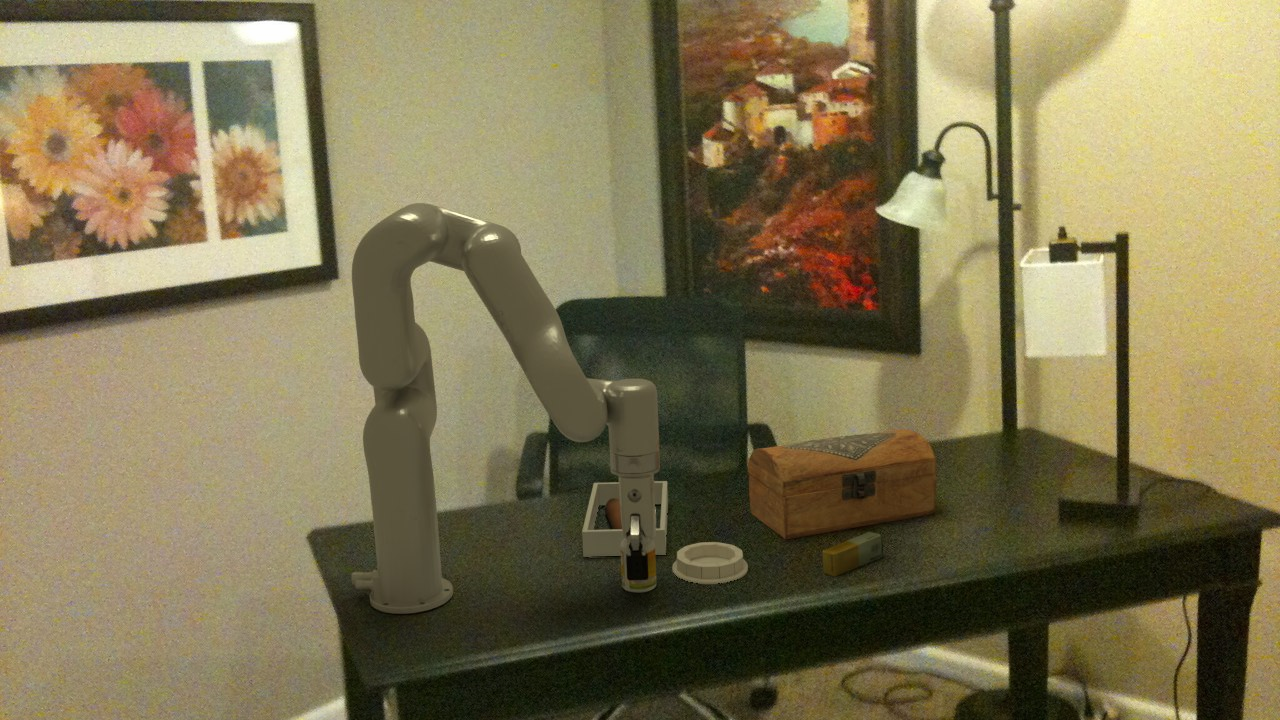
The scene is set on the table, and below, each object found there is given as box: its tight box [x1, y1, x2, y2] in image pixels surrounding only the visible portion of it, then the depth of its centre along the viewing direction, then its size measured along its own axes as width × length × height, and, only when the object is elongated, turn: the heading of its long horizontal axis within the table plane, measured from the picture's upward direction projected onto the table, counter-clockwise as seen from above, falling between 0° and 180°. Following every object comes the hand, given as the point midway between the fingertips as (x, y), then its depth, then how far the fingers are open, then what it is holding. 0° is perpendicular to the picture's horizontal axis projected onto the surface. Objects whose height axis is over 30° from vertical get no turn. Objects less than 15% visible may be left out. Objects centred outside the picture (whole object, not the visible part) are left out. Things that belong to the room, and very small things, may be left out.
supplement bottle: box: [620, 533, 657, 593], centre depth 185 cm, size 5×5×10 cm
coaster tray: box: [671, 541, 749, 585], centre depth 191 cm, size 12×12×3 cm
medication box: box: [821, 530, 884, 577], centre depth 191 cm, size 12×3×4 cm, turn 129°
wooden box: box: [747, 429, 937, 540], centre depth 213 cm, size 30×16×14 cm, turn 108°
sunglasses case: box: [604, 498, 659, 530], centre depth 210 cm, size 18×7×7 cm
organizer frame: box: [581, 480, 669, 558], centre depth 210 cm, size 14×26×4 cm, turn 178°
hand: (639, 566), depth 185 cm, fingers open, 9 cm apart
